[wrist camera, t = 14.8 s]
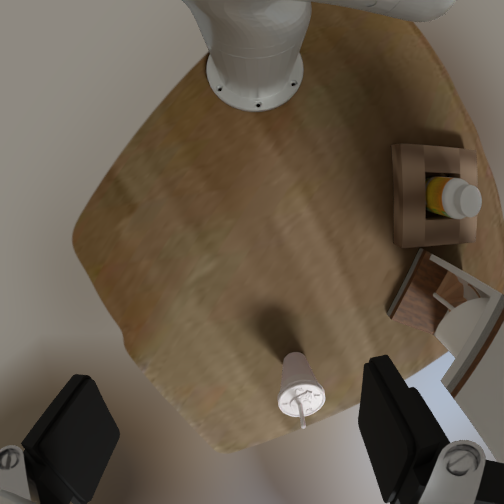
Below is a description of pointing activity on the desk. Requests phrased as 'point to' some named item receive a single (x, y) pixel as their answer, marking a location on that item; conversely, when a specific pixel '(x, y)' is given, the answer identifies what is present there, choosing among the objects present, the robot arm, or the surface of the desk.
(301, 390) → the smoothie
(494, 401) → the tall seamed white column
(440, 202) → the supplement bottle
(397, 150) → the socket block
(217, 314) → the desk surface
